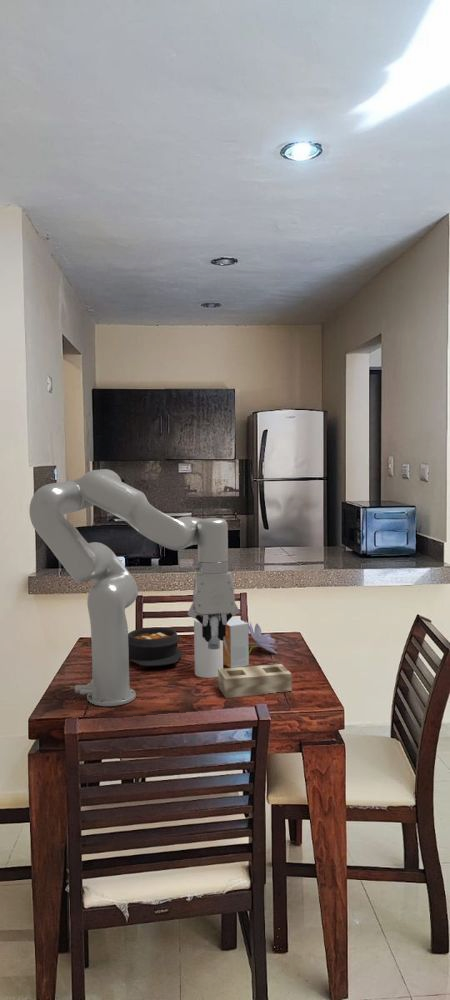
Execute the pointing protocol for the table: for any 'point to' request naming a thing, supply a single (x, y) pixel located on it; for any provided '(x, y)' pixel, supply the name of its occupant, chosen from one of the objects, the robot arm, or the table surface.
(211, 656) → the cup
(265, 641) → the water lily
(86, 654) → the table surface
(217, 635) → the peg
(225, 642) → the small box
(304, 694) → the table surface
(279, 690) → the hole block
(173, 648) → the casserole
